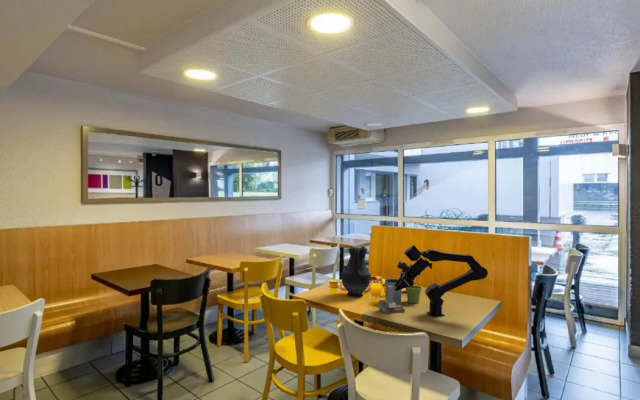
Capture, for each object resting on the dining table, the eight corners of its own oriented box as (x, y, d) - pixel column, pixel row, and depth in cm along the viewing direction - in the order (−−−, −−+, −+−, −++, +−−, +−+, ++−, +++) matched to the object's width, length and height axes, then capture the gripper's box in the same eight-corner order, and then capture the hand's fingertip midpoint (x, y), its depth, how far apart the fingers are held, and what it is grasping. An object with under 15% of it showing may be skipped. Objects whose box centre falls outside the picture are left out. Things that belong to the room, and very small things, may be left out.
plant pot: (402, 302, 207) (403, 287, 207) (407, 298, 215) (407, 284, 215) (419, 305, 202) (419, 289, 202) (423, 301, 211) (423, 286, 211)
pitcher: (369, 292, 228) (370, 244, 228) (370, 301, 207) (372, 248, 207) (341, 291, 230) (342, 243, 230) (340, 299, 209) (341, 247, 209)
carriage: (391, 304, 193) (392, 285, 193) (395, 307, 188) (396, 287, 188) (384, 305, 192) (385, 285, 192) (388, 307, 187) (389, 287, 187)
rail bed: (400, 309, 194) (400, 297, 194) (404, 312, 189) (404, 300, 189) (379, 310, 191) (379, 298, 191) (383, 313, 186) (383, 301, 186)
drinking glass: (404, 300, 211) (405, 280, 211) (398, 305, 202) (399, 283, 202) (387, 298, 216) (388, 277, 216) (381, 302, 207) (382, 280, 207)
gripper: (405, 253, 198) (384, 272, 200) (407, 259, 179) (384, 280, 181) (420, 269, 196) (398, 288, 198) (423, 276, 178) (400, 296, 180)
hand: (395, 287), depth 189 cm, fingers open, 9 cm apart
